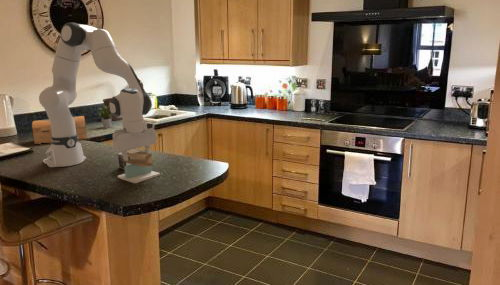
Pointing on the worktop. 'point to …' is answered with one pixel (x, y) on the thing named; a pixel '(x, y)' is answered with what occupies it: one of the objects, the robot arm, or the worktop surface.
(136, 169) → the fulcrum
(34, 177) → the worktop surface
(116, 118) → the plant pot
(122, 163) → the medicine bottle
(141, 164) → the batten
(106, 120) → the house plant
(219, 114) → the worktop surface
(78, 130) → the wooden box
